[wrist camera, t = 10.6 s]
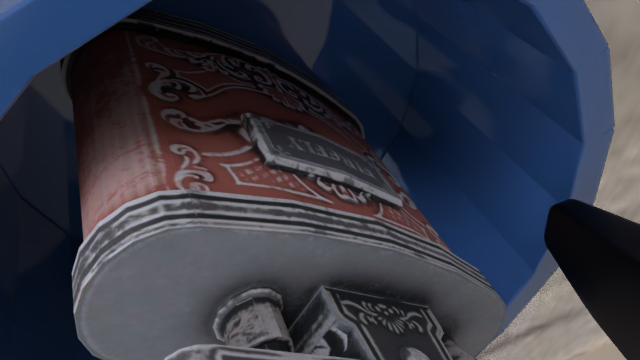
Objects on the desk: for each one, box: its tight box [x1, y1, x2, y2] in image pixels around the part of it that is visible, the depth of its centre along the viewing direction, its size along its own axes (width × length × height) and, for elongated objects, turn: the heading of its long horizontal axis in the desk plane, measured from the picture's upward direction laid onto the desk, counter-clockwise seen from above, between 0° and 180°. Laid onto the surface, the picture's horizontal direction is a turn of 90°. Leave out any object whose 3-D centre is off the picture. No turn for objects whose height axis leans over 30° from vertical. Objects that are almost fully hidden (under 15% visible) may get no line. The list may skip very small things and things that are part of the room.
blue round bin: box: [0, 0, 615, 360], centre depth 13 cm, size 12×12×7 cm
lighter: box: [60, 7, 506, 360], centre depth 11 cm, size 8×3×10 cm, turn 55°
